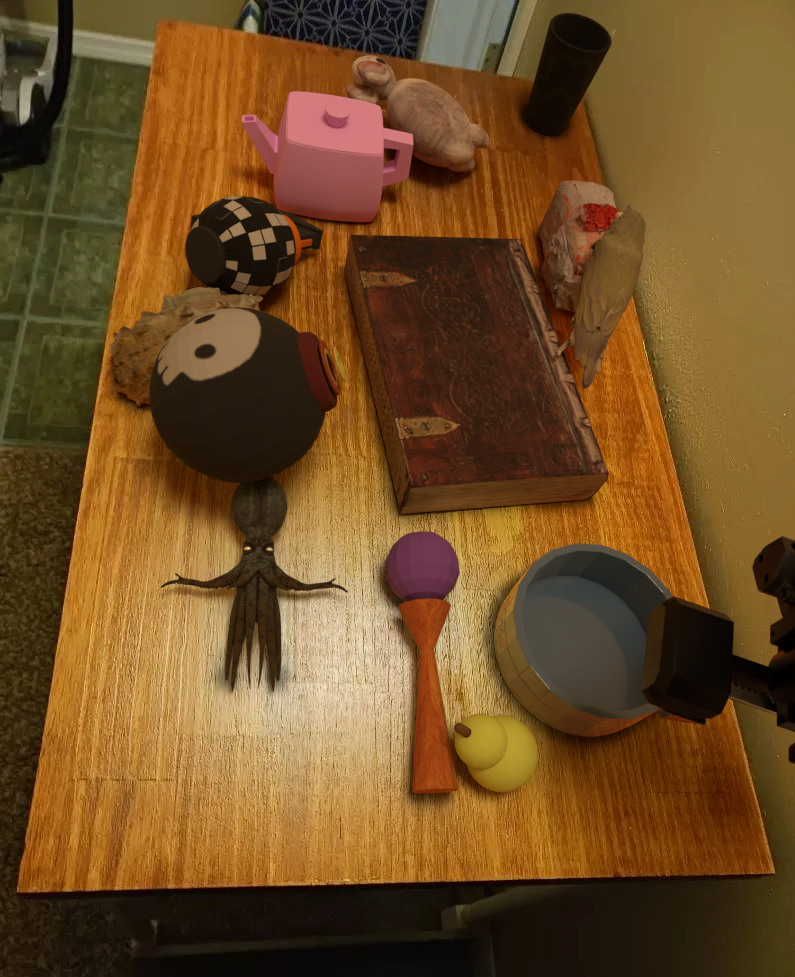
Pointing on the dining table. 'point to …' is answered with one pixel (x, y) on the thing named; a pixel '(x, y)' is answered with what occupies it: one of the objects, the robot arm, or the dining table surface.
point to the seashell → (163, 335)
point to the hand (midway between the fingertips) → (726, 733)
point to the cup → (565, 71)
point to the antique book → (468, 375)
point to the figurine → (256, 577)
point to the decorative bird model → (606, 290)
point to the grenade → (246, 245)
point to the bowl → (579, 638)
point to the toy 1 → (242, 393)
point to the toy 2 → (420, 114)
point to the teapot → (330, 156)
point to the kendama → (426, 646)
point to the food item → (573, 236)
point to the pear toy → (497, 751)
